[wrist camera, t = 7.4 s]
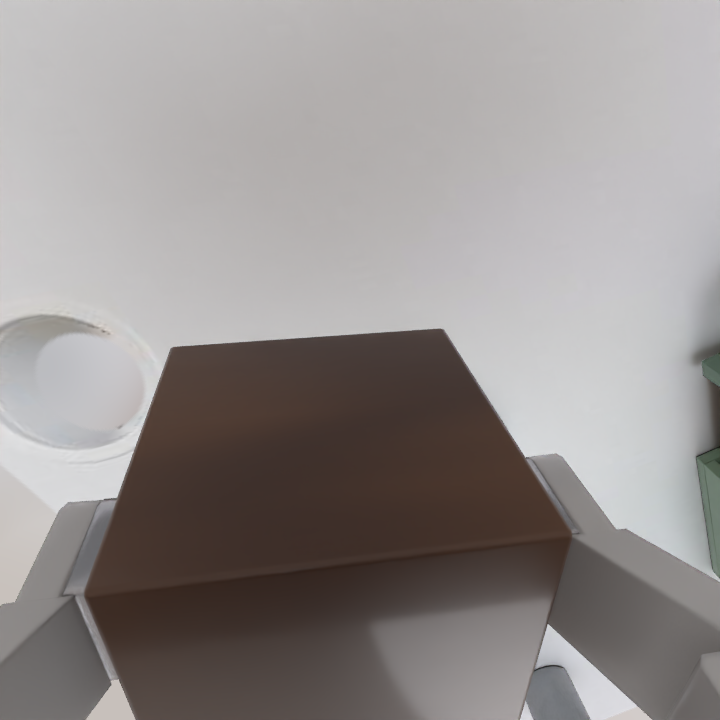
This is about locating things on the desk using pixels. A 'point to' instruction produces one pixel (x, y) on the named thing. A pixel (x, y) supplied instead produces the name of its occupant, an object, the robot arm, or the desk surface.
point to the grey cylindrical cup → (554, 696)
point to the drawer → (712, 369)
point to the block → (326, 539)
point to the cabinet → (711, 501)
